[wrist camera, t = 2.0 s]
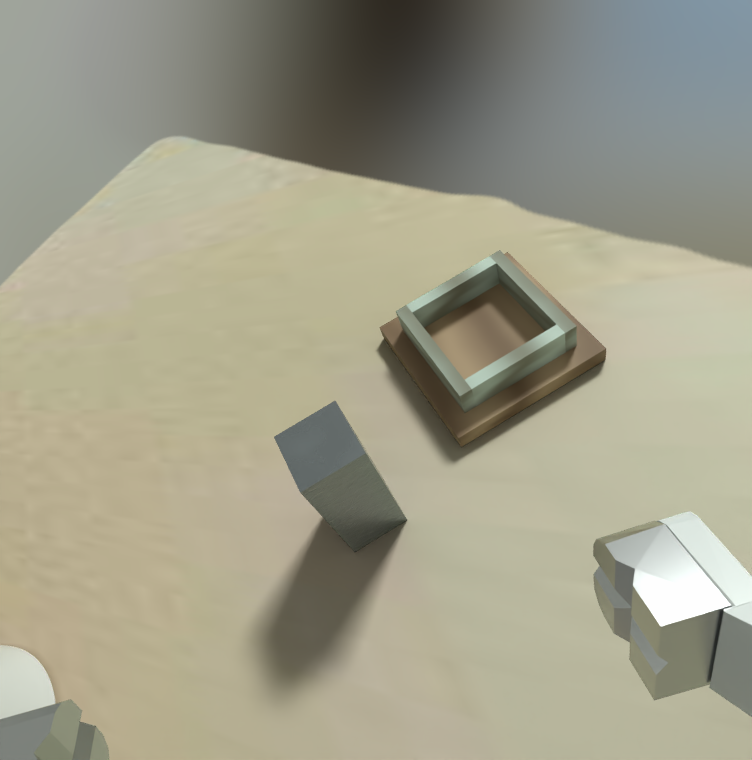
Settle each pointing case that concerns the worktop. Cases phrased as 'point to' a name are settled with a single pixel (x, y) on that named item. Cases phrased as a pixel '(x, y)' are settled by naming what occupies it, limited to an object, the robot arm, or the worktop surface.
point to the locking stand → (489, 345)
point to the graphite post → (339, 477)
